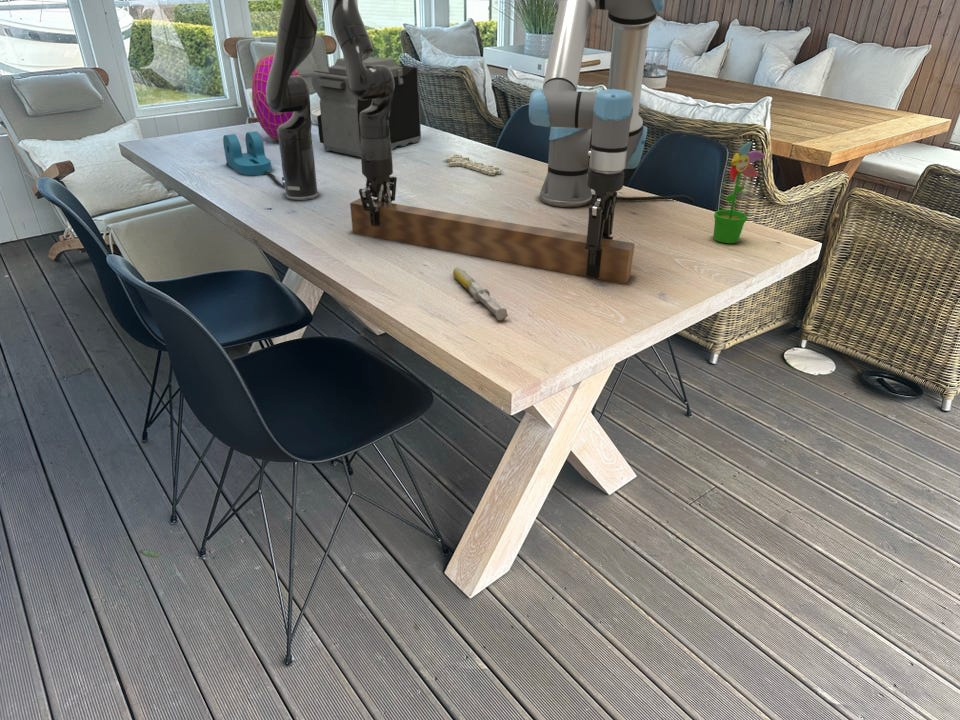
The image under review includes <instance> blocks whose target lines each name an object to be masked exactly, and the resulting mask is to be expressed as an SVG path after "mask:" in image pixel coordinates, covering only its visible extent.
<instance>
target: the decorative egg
mask: <svg viewBox="0 0 960 720" xmlns="http://www.w3.org/2000/svg"><path fill="white" fill-rule="evenodd" d="M273 58H274V54H268V55H265V56H262V57H261V58H260V59H259V60H258V61H257V62H256V65H255V68H254V69H253V70H254V71H253V73H252V77H251V101H252V107H253V110H254V114H255V116H256V118H257V121H258V123H259V125H260V127H261V128H262V130H263V131H264V133H266V135H267V136H268V137H270V138H271V139H273V140H275V141H279V139H278V131H277V129H278V127H279V126H280V125H281V124H283V123H285V122H286V121H288V120H289V119H290V118H291V117H292V115H293V112H288V113H276V112H273V111H272V110H271V109H270V108H269V106H268V103H267V99H266V85H267V80H268V77H269V73H270V69H271V66H272V62H273ZM291 76H301V75H300V73H299V71H298V68H296V69H295V70H294V71H293V73H292V74H291Z"/></svg>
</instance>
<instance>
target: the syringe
mask: <svg viewBox="0 0 960 720" xmlns="http://www.w3.org/2000/svg"><path fill="white" fill-rule="evenodd" d="M452 274H453V277H454V279H455V280H457V281H458V282H459V283H460V285H462V287H464V289H466V290H467V291H468V293H470V295H471V296H472V298H473V300H474V302H477V303H478V302H480V303H482V304H483V305H484V306H485V307H486V308H487V309H488V310H489V311H490V312H491V313H492V314H493V315H494V316H495V317H496V320H497V321H503V320H504V319H506V318H507V317H509V314H508V310H507V308H506V307H502V306H501V305H500V303H498V302H497V301H496V300H494V299H493V298H492V297H491V296H490V295H491V293H490V290H488V289H486V288H483V287H482V286H481V285H480V284H479V283H478V282H477V281H476V280H474V278H473V277H471V275H469V274H468V273H467V272H466V270H465V269H464V268H463V267H462V266H456V267H454V268H453V271H452Z"/></svg>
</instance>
